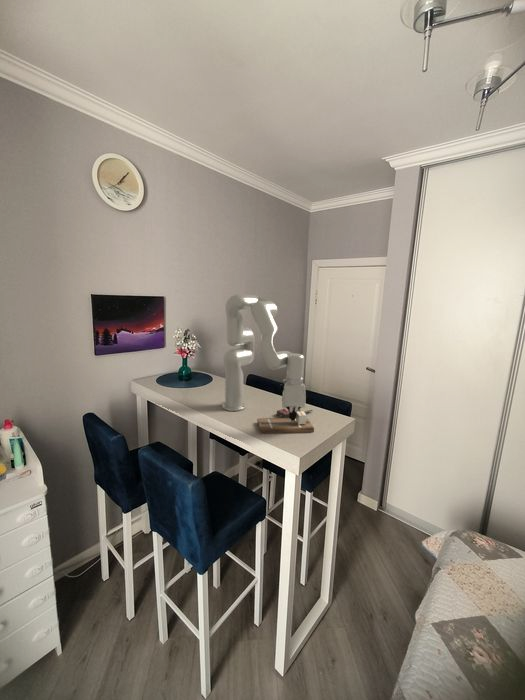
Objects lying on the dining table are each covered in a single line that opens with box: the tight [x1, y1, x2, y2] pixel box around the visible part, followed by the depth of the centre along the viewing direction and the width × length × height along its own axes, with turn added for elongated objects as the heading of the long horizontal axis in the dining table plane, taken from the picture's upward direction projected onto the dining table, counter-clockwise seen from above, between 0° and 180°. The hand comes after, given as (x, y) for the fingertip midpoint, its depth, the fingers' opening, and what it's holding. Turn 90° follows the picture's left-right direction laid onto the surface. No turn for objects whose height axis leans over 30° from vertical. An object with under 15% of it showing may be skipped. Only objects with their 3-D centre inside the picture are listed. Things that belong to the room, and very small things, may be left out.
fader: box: [296, 410, 308, 424], centre depth 142 cm, size 5×4×4 cm
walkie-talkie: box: [276, 407, 314, 418], centre depth 158 cm, size 9×4×20 cm
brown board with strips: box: [256, 417, 315, 435], centre depth 142 cm, size 12×24×2 cm, turn 98°
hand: (292, 419), depth 142 cm, fingers closed
